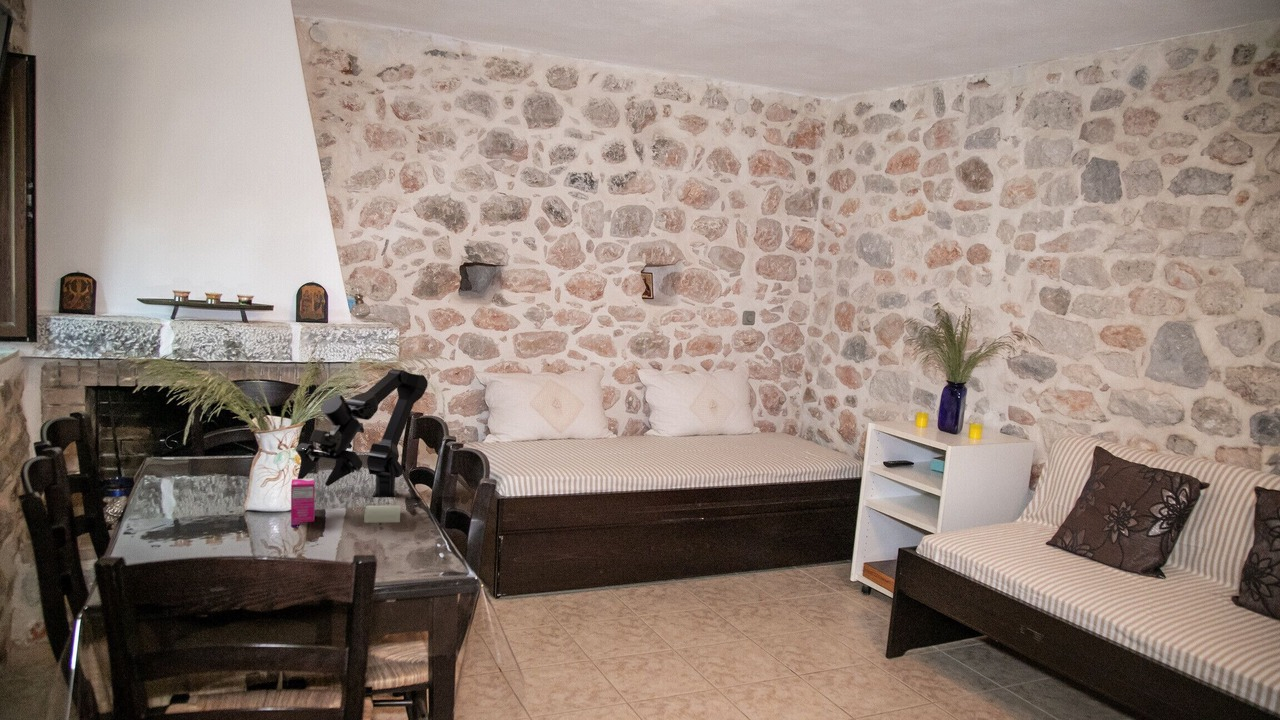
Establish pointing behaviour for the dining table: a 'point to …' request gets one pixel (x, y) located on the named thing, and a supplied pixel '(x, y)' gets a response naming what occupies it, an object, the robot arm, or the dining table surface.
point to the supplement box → (302, 501)
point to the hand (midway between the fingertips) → (312, 482)
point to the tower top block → (382, 514)
